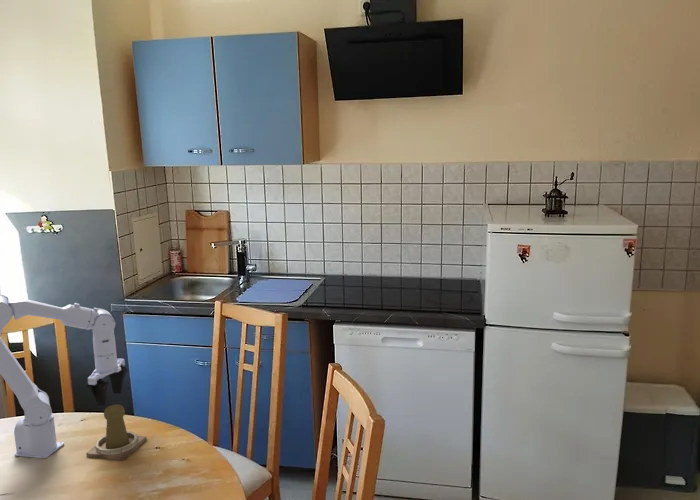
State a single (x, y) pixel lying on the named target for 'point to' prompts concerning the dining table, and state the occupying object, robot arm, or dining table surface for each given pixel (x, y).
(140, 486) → the dining table surface
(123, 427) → the cork
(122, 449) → the cup holder
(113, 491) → the dining table surface
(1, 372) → the robot arm
